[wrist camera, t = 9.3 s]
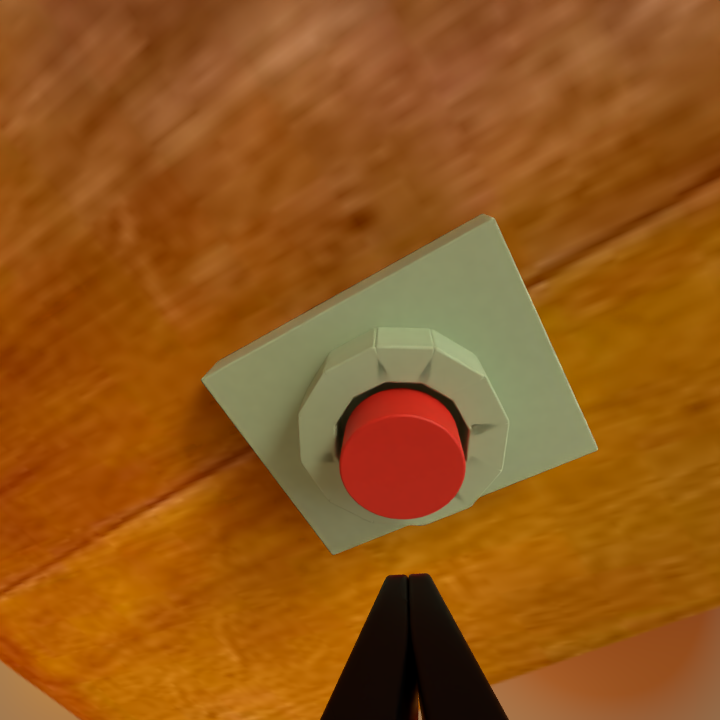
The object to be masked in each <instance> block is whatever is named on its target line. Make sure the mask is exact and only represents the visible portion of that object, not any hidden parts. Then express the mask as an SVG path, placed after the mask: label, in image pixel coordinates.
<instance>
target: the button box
mask: <svg viewBox="0 0 720 720" xmlns="http://www.w3.org/2000/svg"><path fill="white" fill-rule="evenodd" d="M201 381H202V383H203V384H204V385H205V387H206V388H207V389H208V390H209V392H210V393H211V394H212V396H213V397H214V398H215V400H216V401H217V402H218V404H219V405H220V406H221V408H222V409H223V410H224V412H225V413H226V414H227V416H228V417H229V418H230V420H231V421H232V422H233V424H234V425H235V426H236V428H237V429H238V430H239V432H240V433H241V434H242V436H243V437H244V438H245V440H246V441H247V442H248V444H249V445H250V446H251V448H252V449H253V450H254V451H255V453H256V454H257V455H258V457H259V458H260V459H261V461H262V462H263V463H264V465H265V466H266V467H267V469H268V470H269V471H270V473H271V474H272V475H273V477H274V478H275V479H276V481H277V482H278V483H279V485H280V486H281V487H282V489H283V490H284V491H285V493H286V494H287V495H288V497H289V498H290V499H291V501H292V502H293V503H294V505H295V506H296V507H297V509H298V510H299V511H300V513H301V514H302V515H303V516H304V518H305V519H306V520H307V522H308V523H309V524H310V526H311V527H312V528H313V530H314V531H315V532H316V534H317V535H318V536H319V538H320V539H321V540H322V542H323V543H324V544H325V546H326V547H327V548H328V550H329V551H330V552H331V554H332V555H335V554H337V553H340V552H342V551H345V550H347V549H350V548H353V547H355V546H358V545H360V544H363V543H365V542H368V541H370V540H373V539H375V538H378V537H380V536H383V535H385V534H388V533H390V532H393V531H395V530H398V529H400V528H403V527H405V526H408V525H418V526H422V525H426V524H429V523H432V522H434V521H437V520H439V519H442V518H444V517H447V516H449V515H452V514H454V513H457V512H460V511H462V510H465V509H467V508H469V507H471V506H472V505H473V504H474V503H475V501H476V500H477V499H478V498H479V497H481V496H484V495H486V494H489V493H491V492H494V491H496V490H499V489H501V488H504V487H506V486H509V485H511V484H514V483H516V482H519V481H521V480H524V479H527V478H529V477H532V476H534V475H537V474H539V473H542V472H544V471H547V470H549V469H552V468H554V467H557V466H559V465H562V464H564V463H567V462H569V461H572V460H574V459H577V458H579V457H582V456H585V455H587V454H590V453H592V452H595V451H597V450H598V447H597V445H596V442H595V440H594V438H593V436H592V433H591V431H590V429H589V427H588V425H587V422H586V420H585V418H584V416H583V413H582V411H581V409H580V407H579V405H578V402H577V400H576V398H575V396H574V393H573V391H572V389H571V387H570V385H569V382H568V380H567V378H566V376H565V373H564V371H563V369H562V367H561V365H560V362H559V360H558V358H557V356H556V353H555V351H554V349H553V347H552V345H551V342H550V340H549V338H548V336H547V333H546V331H545V329H544V327H543V325H542V322H541V320H540V318H539V316H538V313H537V311H536V309H535V307H534V305H533V302H532V300H531V298H530V296H529V293H528V291H527V289H526V287H525V285H524V282H523V280H522V278H521V276H520V273H519V271H518V269H517V267H516V265H515V262H514V260H513V258H512V256H511V253H510V251H509V249H508V247H507V245H506V242H505V240H504V238H503V236H502V233H501V231H500V229H499V227H498V225H497V222H496V220H495V219H494V218H493V217H490V216H488V215H485V214H481V215H479V216H477V217H475V218H474V219H472V220H470V221H468V222H466V223H465V224H463V225H461V226H459V227H457V228H456V229H454V230H452V231H450V232H449V233H447V234H445V235H443V236H441V237H440V238H438V239H436V240H434V241H432V242H431V243H429V244H427V245H425V246H423V247H422V248H420V249H418V250H416V251H414V252H413V253H411V254H409V255H407V256H406V257H404V258H402V259H400V260H398V261H397V262H395V263H393V264H391V265H389V266H388V267H386V268H384V269H382V270H380V271H379V272H377V273H375V274H373V275H372V276H370V277H368V278H366V279H364V280H363V281H361V282H359V283H357V284H355V285H354V286H352V287H350V288H348V289H346V290H345V291H343V292H341V293H339V294H337V295H336V296H334V297H332V298H330V299H329V300H327V301H325V302H323V303H321V304H320V305H318V306H316V307H314V308H312V309H311V310H309V311H307V312H305V313H303V314H302V315H300V316H298V317H296V318H295V319H293V320H291V321H289V322H287V323H286V324H284V325H282V326H280V327H278V328H277V329H275V330H273V331H271V332H269V333H268V334H266V335H264V336H262V337H260V338H259V339H257V340H255V341H253V342H252V343H250V344H248V345H246V346H244V347H243V348H241V349H239V350H237V351H235V352H234V353H232V354H230V355H228V356H226V357H225V358H223V359H221V360H219V361H218V362H217V363H216V364H215V365H214V366H213V367H212V368H211V369H210V370H209V371H208V372H207V373H206V374H205V375H204V377H203V378H202V379H201ZM393 388H410V389H415V390H419V391H422V392H425V393H427V394H429V395H431V396H433V397H435V398H436V399H438V400H439V401H440V402H441V403H442V404H444V405H445V407H446V408H447V409H448V410H449V411H450V413H451V414H452V416H453V418H454V420H455V423H456V426H457V429H458V433H459V437H460V441H461V445H462V448H463V452H464V456H465V462H466V472H465V477H464V480H463V483H462V486H461V487H460V489H459V491H458V493H457V494H456V496H455V497H454V498H453V499H452V500H451V501H450V502H449V503H448V504H447V505H446V506H444V507H443V508H441V509H440V510H438V511H436V512H434V513H432V514H430V515H427V516H424V517H420V518H416V519H391V518H386V517H382V516H379V515H376V514H374V513H372V512H370V511H368V510H366V509H365V508H363V507H362V506H360V505H359V504H358V503H357V502H356V501H355V500H354V499H353V498H352V497H351V496H350V495H349V493H348V492H347V490H346V488H345V487H344V485H343V482H342V480H341V476H340V470H339V460H340V454H341V448H342V443H343V437H344V432H345V427H346V423H347V421H348V418H349V416H350V415H351V413H352V411H353V410H354V409H355V408H356V406H358V405H359V404H360V403H361V402H362V401H363V400H364V399H366V398H367V397H369V396H371V395H373V394H375V393H377V392H380V391H383V390H387V389H393Z"/></svg>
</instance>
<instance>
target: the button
mask: <svg viewBox="0 0 720 720" xmlns="http://www.w3.org/2000/svg"><path fill="white" fill-rule="evenodd" d="M339 470H340V476H341V480H342V482H343V485H344V487H345V488H346V490H347V492H348V493H349V495H350V496H351V497H352V498H353V499H354V500H355V501H356V502H357V503H358V504H359V505H360V506H362V507H363V508H365V509H366V510H368V511H370V512H372V513H374V514H376V515H379V516H382V517H386V518H391V519H416V518H420V517H424V516H427V515H430V514H432V513H434V512H436V511H438V510H440V509H441V508H443V507H444V506H446V505H447V504H448V503H449V502H450V501H451V500H452V499H453V498H454V497H455V496H456V494H457V493H458V491H459V489H460V487H461V486H462V483H463V480H464V477H465V472H466V462H465V456H464V452H463V448H462V445H461V441H460V437H459V433H458V429H457V426H456V423H455V420H454V418H453V416H452V414H451V413H450V411H449V410H448V409H447V408H446V407H445V405H444V404H442V403H441V402H440V401H439V400H438V399H436V398H435V397H433V396H431V395H429V394H427V393H425V392H422V391H419V390H415V389H410V388H393V389H387V390H383V391H380V392H377V393H375V394H373V395H371V396H369V397H367V398H366V399H364V400H363V401H362V402H361V403H360V404H359V405H358V406H356V408H355V409H354V410H353V411H352V413H351V415H350V416H349V418H348V421H347V423H346V427H345V432H344V437H343V443H342V448H341V454H340V460H339Z"/></svg>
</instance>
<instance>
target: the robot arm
mask: <svg viewBox="0 0 720 720" xmlns="http://www.w3.org/2000/svg"><path fill="white" fill-rule="evenodd" d="M418 695H419V702H420V709H421V716H422V720H509V719H508V718H507V716H506V714H505V712H504V710H503V708H502V706H501V705H500V703H499V701H498V699H497V697H496V695H495V694H494V692H493V690H492V688H491V686H490V685H489V683H488V681H487V679H486V677H485V675H484V674H483V672H482V670H481V668H480V666H479V664H478V663H477V661H476V659H475V657H474V655H473V653H472V652H471V650H470V648H469V646H468V644H467V642H466V641H465V639H464V637H463V635H462V633H461V631H460V630H459V628H458V626H457V624H456V622H455V620H454V619H453V617H452V615H451V613H450V611H449V609H448V608H447V606H446V604H445V602H444V600H443V598H442V597H441V595H440V593H439V591H438V589H437V587H436V586H435V584H434V582H433V580H432V578H431V577H430V575H429V574H426V573H424V574H411V575H409V577H407V576H406V575H389V576H387V577H386V579H385V581H384V583H383V585H382V587H381V589H380V592H379V594H378V596H377V598H376V600H375V602H374V605H373V607H372V609H371V611H370V613H369V615H368V618H367V620H366V622H365V624H364V626H363V628H362V630H361V633H360V635H359V637H358V639H357V641H356V643H355V646H354V648H353V650H352V652H351V654H350V656H349V659H348V661H347V663H346V665H345V667H344V669H343V671H342V674H341V676H340V678H339V680H338V682H337V684H336V687H335V689H334V691H333V693H332V695H331V697H330V700H329V702H328V704H327V706H326V708H325V710H324V712H323V715H322V717H321V719H320V720H418Z"/></svg>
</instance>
